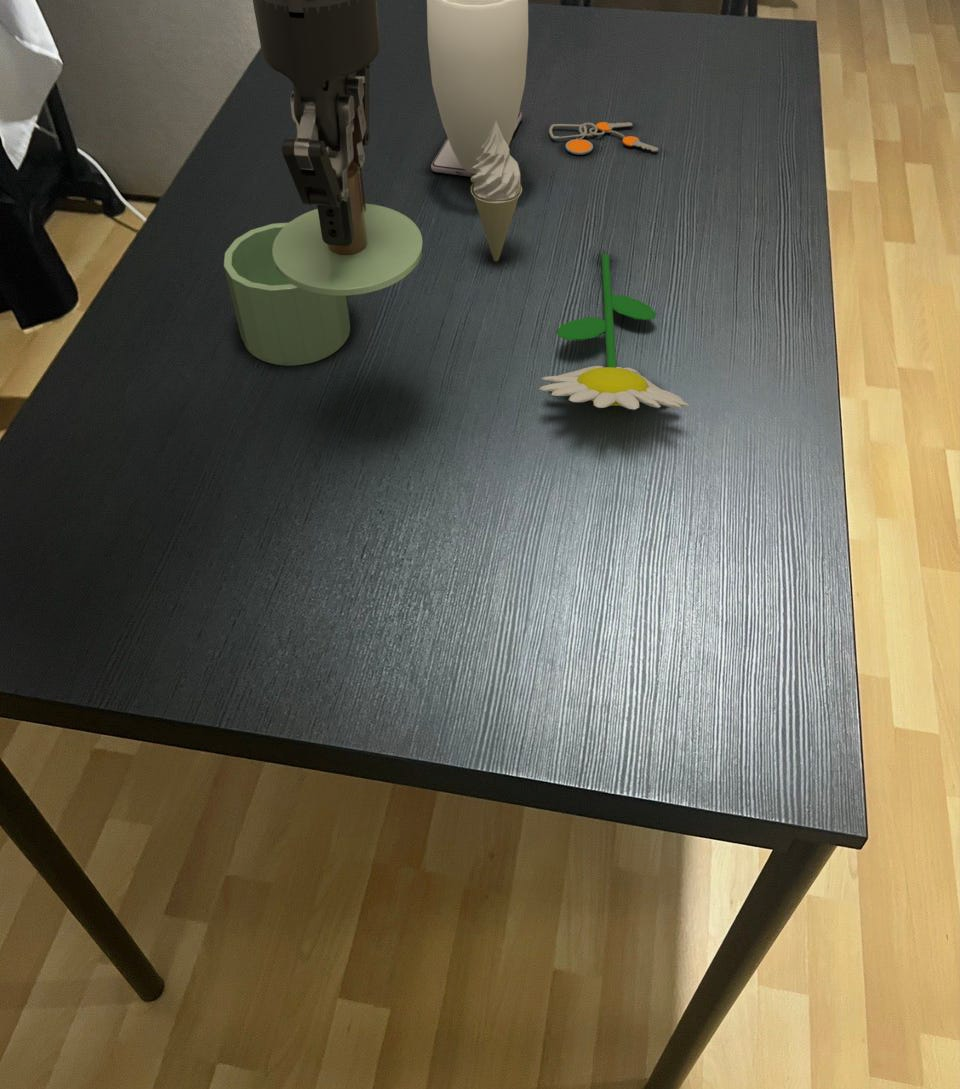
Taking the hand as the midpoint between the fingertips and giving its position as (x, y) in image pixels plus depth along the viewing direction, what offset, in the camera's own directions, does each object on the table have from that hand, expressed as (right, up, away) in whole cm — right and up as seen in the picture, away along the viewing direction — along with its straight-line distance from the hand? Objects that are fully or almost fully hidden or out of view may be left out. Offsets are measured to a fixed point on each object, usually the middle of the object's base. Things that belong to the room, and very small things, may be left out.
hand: (344, 227), depth 73 cm
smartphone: (+10, +24, +45) cm, 52 cm away
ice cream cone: (+12, +6, +30) cm, 33 cm away
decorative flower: (+22, -5, +21) cm, 31 cm away
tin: (-8, -3, +23) cm, 24 cm away
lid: (0, -1, +1) cm, 2 cm away
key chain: (+25, +25, +46) cm, 57 cm away
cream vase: (+10, +17, +39) cm, 44 cm away
